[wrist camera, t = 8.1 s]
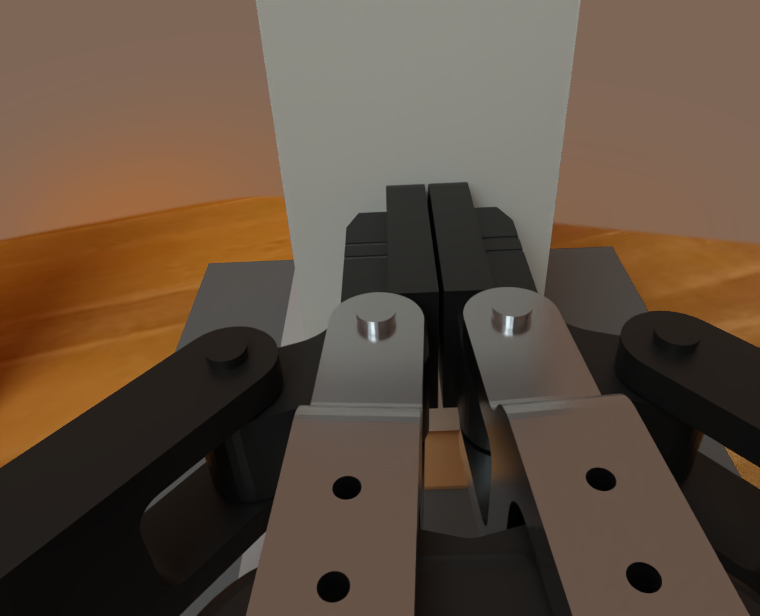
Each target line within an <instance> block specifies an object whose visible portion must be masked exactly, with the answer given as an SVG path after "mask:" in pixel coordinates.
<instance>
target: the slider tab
mask: <svg viewBox="0 0 760 616" xmlns="http://www.w3.org/2000/svg"><path fill="white" fill-rule="evenodd" d="M256 6H257V12H258V19H259V26H260V33H261V40H262V47H263V54H264V60H265V67H266V74H267V80H268V88H269V95H270V101H271V108H272V115H273V122H274V129H275V136H276V142H277V149H278V156H279V163H280V170H281V177H282V183H283V190H284V197H285V204H286V211H287V218H288V224H289V231H290V238H291V245H292V252H293V259H294V265H295V272H296V279H297V286H298V293H299V300H300V306H301V313H302V320H303V327H304V334H305V340H307V339H310V338H312V337H314V336H316V335H318V334H320V333H322V332H323V331H324V330H326V329H327V327H328V322H329V318H330V316H331V314H332V312H333V310H334V309H335V308H336V307H337V306H338V305H340V304H341V292H342V279H343V265H344V252H345V239H346V227H347V226H348V225H349V224H350V222H351V221H352V220H353V219H354V218H355V217H356V215H357V214H358V213H367V212H387V210H386V186H389V185H411V184H425V190H426V198H427V206H428V184H431V183H454V182H468V185H469V189H470V193H471V197H472V201H473V205H474V208H479V207H498V208H499V209H500V210H501V211H503V212H504V213H505V214H506V215H507V216H509V217H510V218H511V219H512V220H513V222H514V225H515V228H516V231H517V234H518V239H520V242H521V245H522V248H523V252H524V254H525V257H526V260H527V263H528V266H529V268H530V271H531V274H532V277H533V280H534V283H535V286H536V289H537V292H538V293H539V294H541V295H543V296H544V291H545V283H546V275H547V267H548V259H549V251H550V243H551V235H552V227H553V219H554V211H555V202H556V193H557V186H558V178H559V170H560V162H561V153H562V146H563V138H564V130H565V121H566V114H567V113H566V112H567V105H568V96H569V89H570V81H571V73H572V64H573V56H574V49H575V40H576V33H577V25H578V17H579V9H580V0H256ZM451 430H459V414H458V407H457V408H443V405H442V396H441V388H440V379H439V370H438V408H435V409H429V431H451Z"/></svg>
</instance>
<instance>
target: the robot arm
mask: <svg viewBox="0 0 760 616" xmlns="http://www.w3.org/2000/svg"><path fill="white" fill-rule="evenodd" d="M386 210H387V212H367V213H358V214H357V215H356V217H355V218H354V219H353V220H352V221H351V222H350V224H349V225H348V226H347V227H346V239H345V252H344V265H343V279H342V292H341V304H340V305H338V306H337V307H336V308H335V309H334V310H333V312H332V314H331V316H330V318H329V322H328V327H327V329H326V330H324V331H323V332H322V333H320V334H318V335H316V336H314V337H312V338H310V339H307V340H304V341H301V342H298V343H294V344H290V345H286V346H283V347H279V348H278V347H277V344H276V342H275V340H274V339H273V338H272V337H271V336H270V335H269V334H267V333H266V332H264V331H262V330H259V329H256V328H252V327H244V326H234V327H226V328H221V329H217V330H214V331H211V332H208V333H206V334H204V335H202V336H200V337H198V338H196V339H195V340H193V341H192V342H190V343H189V344H187V345H186V346H184V347H183V348H181V349H180V350H178V351H177V352H175V353H174V354H172V355H171V356H169V357H168V358H166V359H165V360H163V361H162V362H160V363H158V364H157V365H155V366H154V367H152V368H151V369H149V370H148V371H146V372H145V373H143V374H142V375H140V376H139V377H137V378H136V379H134V380H133V381H131V382H130V383H128V384H127V385H125V386H124V387H122V388H121V389H119V390H118V391H116V392H115V393H113V394H112V395H110V396H109V397H107V398H106V399H104V400H103V401H101V402H100V403H98V404H97V405H95V406H94V407H92V408H90V409H89V410H87V411H86V412H84V413H83V414H81V415H80V416H78V417H77V418H75V419H74V420H72V421H71V422H69V423H68V424H66V425H65V426H63V427H62V428H60V429H59V430H57V431H56V432H54V433H53V434H51V435H50V436H48V437H47V438H45V439H44V440H42V441H41V442H39V443H38V444H36V445H35V446H33V447H32V448H30V449H29V450H27V451H25V452H24V453H22V454H21V455H19V456H18V457H16V458H15V459H13V460H12V461H10V462H9V463H7V464H6V465H4V466H3V467H1V468H0V616H180V615H181V614H182V613H183V612H184V611H185V610H186V609H187V608H188V607H189V606H190V605H191V604H192V603H193V602H194V601H195V600H196V599H197V598H198V597H199V596H200V595H201V594H202V593H203V592H204V591H205V590H207V589H208V588H209V587H210V586H211V585H212V584H213V583H214V582H215V581H216V580H217V579H218V578H219V577H220V576H221V575H222V574H223V573H224V572H225V571H226V570H227V569H228V568H229V567H230V566H231V565H232V564H233V563H234V562H235V561H236V560H237V559H238V558H239V557H240V556H241V555H242V554H243V553H244V552H245V551H247V550H248V549H249V548H250V547H251V546H252V545H253V544H254V543H255V542H256V541H257V540H258V539H259V538H260V537H261V536H262V535H263V534H264V533H265V532H266V535H265V539H264V543H263V547H262V551H261V555H260V560H259V564H258V567H257V568H255V569H253V570H251V571H249V572H248V573H246V574H245V575H243V576H242V577H240V578H239V579H237V580H236V581H234V582H233V583H231V584H230V585H229V586H227V587H226V588H225V589H224V590H223V591H221V592H220V593H219V594H218V595H217V596H215V597H214V598H213V599H212V600H211V601H210V602H209V603H208V604H207V605H206V606H205V607H204V608H203V609H202V610H201V611H200V612H199V613H198V614H197V615H196V616H760V489H758V488H757V487H755V486H753V485H752V484H750V483H749V482H747V481H745V480H744V479H742V478H741V477H739V476H737V475H736V474H734V473H733V472H731V471H729V470H728V469H726V468H725V467H723V466H721V465H720V464H718V463H717V462H715V461H713V460H712V459H710V458H709V457H707V456H705V455H704V454H702V453H701V452H699V451H698V449H699V447H700V444H701V441H702V438H703V435H704V434H705V435H707V436H708V437H710V438H712V439H713V440H715V441H717V442H718V443H720V444H722V445H723V446H725V447H727V448H728V449H730V450H732V451H733V452H735V453H737V454H738V455H740V456H742V457H743V458H745V459H747V460H748V461H750V462H752V463H753V464H755V465H757V466H758V467H760V348H758V347H756V346H754V345H752V344H750V343H748V342H746V341H744V340H742V339H740V338H738V337H736V336H734V335H732V334H729V333H727V332H725V331H723V330H721V329H719V328H717V327H715V326H713V325H711V324H709V323H707V322H705V321H703V320H700V319H698V318H695V317H693V316H689V315H686V314H682V313H677V312H670V311H651V312H646V313H641V314H638V315H636V316H634V317H632V318H630V319H629V320H628V321H627V322H626V323H625V324H624V325H623V327H622V330H621V334H620V335H614V334H608V333H602V332H596V331H590V330H586V329H581V328H578V327H575V326H572V325H570V324H567V323H565V322H564V320H563V318H562V316H561V314H560V312H559V310H558V308H557V307H556V305H555V304H554V303H553V302H552V301H550V300H549V299H548V298H546V297H545V296H543V295H541V294H539V293H538V292H537V289H536V286H535V283H534V280H533V277H532V274H531V271H530V268H529V266H528V263H527V260H526V257H525V254H524V252H523V248H522V245H521V242H520V239H518V234H517V231H516V228H515V225H514V222H513V220H512V219H511V218H510V217H509V216H507V215H506V214H505V213H504V212H503V211H501V210H500V209H499V208H498V207H479V208H474V205H473V201H472V197H471V193H470V189H469V185H468V182H454V183H431V184H428V206H427V198H426V190H425V184H411V185H389V186H386ZM438 370H439V379H440V388H441V396H442V405H443V408H457V407H458V414H459V450H460V454H461V458H462V463H463V467H464V472H465V476H466V480H467V485H468V489H469V493H470V498H471V502H472V506H473V511H474V515H475V519H476V524H477V528H478V532H479V537H477V538H463V537H457V536H452V535H447V534H442V533H437V532H432V531H427V530H424V492H425V439H426V437H427V435H428V431H429V409H435V408H438ZM204 457H205V460H206V462H205V463H204V464H203V465H202V466H200V467H199V468H198V469H197V470H196V471H194V472H193V473H192V474H191V475H189V476H188V477H187V478H186V479H185V480H183V481H182V482H181V483H180V484H178V485H177V486H176V487H175V488H174V489H172V490H171V491H170V492H169V493H167V494H166V495H165V496H164V497H163V498H161V499H160V500H159V501H158V502H156V503H155V504H154V505H153V506H152V507H150V508H149V509H148V510H147V511H145V510H146V508H147V507H148V505H149V504H150V503H151V502H152V500H153V499H154V498H155V497H156V496H158V495H159V494H160V493H161V492H162V491H164V490H165V489H166V488H167V487H168V486H170V485H171V484H172V483H173V482H175V481H176V480H177V479H178V478H180V477H181V476H182V475H183V474H185V473H186V472H187V471H188V470H189V469H191V468H192V467H193V466H194V465H196V464H197V463H198V462H199V461H201V460H202V459H203V458H204Z"/></svg>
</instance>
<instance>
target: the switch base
mask: <svg viewBox="0 0 760 616" xmlns="http://www.w3.org/2000/svg"><path fill="white" fill-rule="evenodd" d="M544 296H545V297H546V298H548V299H549V300H550V301H552V302H553V303H554V304H555V305H556V307H557V308H558V310H559V312H560V314H561V316H562V318H563V320H564V322H565V323H567V324H570V325H572V326H575V327H578V328H581V329H586V330H590V331H596V332H602V333H608V334H614V335H620V334H621V330H622V327H623V325H624V324H625V323H626V322H627V321H628V320H629V319H630V318H632V317H634V316H636V315H638V314H641V313H646V312H648V310H647V308H646V306H645V304H644V303H643V301H642V299H641V297H640V295H639V294H638V292H637V290H636V288H635V287H634V285H633V283H632V281H631V279H630V278H629V276H628V274H627V272H626V270H625V269H624V267H623V265H622V263H621V261H620V260H619V258H618V256H617V254H616V253H615V251H614V249H613V247H588V248H564V249H550V251H549V259H548V267H547V275H546V283H545V291H544ZM234 326H244V327H252V328H256V329H259V330H262V331H264V332H266V333H267V334H269V335H270V336H271V337H272V338H273V339H274V340H275V342H276V344H277V347H278V348H279V347H283V346H286V345H290V344H294V343H298V342H301V341H304V340H305V334H304V327H303V320H302V313H301V306H300V300H299V293H298V286H297V279H296V272H295V265H294V260H280V261H256V262H232V263H209V264H208V267H207V270H206V272H205V275H204V278H203V280H202V283H201V285H200V288H199V291H198V293H197V296H196V299H195V301H194V304H193V307H192V309H191V312H190V314H189V317H188V320H187V322H186V325H185V328H184V330H183V333H182V335H181V338H180V341H179V343H178V346H177V349H176V351H175V352H177V351H178V350H180V349H181V348H183V347H184V346H186V345H187V344H189V343H190V342H192V341H193V340H195V339H196V338H198V337H200V336H202V335H204V334H206V333H208V332H211V331H214V330H217V329H221V328H226V327H234ZM698 451H699V452H701V453H702V454H704V455H705V456H707V457H709V458H710V459H712V460H713V461H715V462H717V463H718V464H720V465H721V466H723V467H725V468H726V469H728V470H729V471H731V472H733V473H734V474H736V475H737V476H739V477H741V476H740V474H739V473H738V471H737V469H736V467H735V465H734V464H733V462H732V460H731V458H730V456H729V455H728V453H727V451H726V449H725V448H724V446H723V445H722V444H720V443H718V442H717V441H715V440H713V439H712V438H710V437H708V436H707V435H705V434H704V435H703V438H702V441H701V444H700V447H699V449H698ZM205 462H206V460H205V457H204V458H203V459H202V460H201V461H199V462H198V463H197V464H196V465H194V466H193V467H192V468H191V469H189V470H188V471H187V472H186V473H185V474H183V475H182V476H181V477H180V478H178V479H177V480H176V481H175V482H173V483H172V484H171V485H170V486H168V487H167V488H166V489H165V490H164V491H162V492H161V493H160V494H159V495H158V496H156V497H155V498H154V499H153V500H152V502H151V503H150V504H149V505H148V507H147V508H146V510H145V511H147V510H148V509H149V508H150V507H152V506H153V505H154V504H155V503H156V502H158V501H159V500H160V499H161V498H163V497H164V496H165V495H166V494H167V493H169V492H170V491H171V490H172V489H174V488H175V487H176V486H177V485H178V484H180V483H181V482H182V481H183V480H185V479H186V478H187V477H188V476H189V475H191V474H192V473H193V472H194V471H196V470H197V469H198V468H199V467H200V466H202V465H203V464H204V463H205ZM424 530H427V531H432V532H437V533H442V534H447V535H452V536H457V537H463V538H477V537H479V532H478V528H477V524H476V519H475V515H474V511H473V506H472V502H471V498H470V493H469V489H468V485H467V480H466V476H465V472H464V467H463V463H462V458H461V454H460V450H459V430H451V431H428V435H427V437H426V439H425V492H424ZM265 535H266V532H265V533H264V534H263V535H262V536H261V537H260V538H259V539H258V540H257V541H256V542H255V543H254V544H253V545H252V546H251V547H250V548H249V549H248V550H247V551H245V552H244V553H243V554H242V555H241V556H240V557H239V558H238V559H237V560H236V561H235V562H234V563H233V564H232V565H231V566H230V567H229V568H228V569H227V570H226V571H225V572H224V573H223V574H222V575H221V576H220V577H219V578H218V579H217V580H216V581H215V582H214V583H213V584H212V585H211V586H210V587H209V588H208V589H207V590H205V591H204V592H203V593H202V594H201V595H200V596H199V597H198V598H197V599H196V600H195V601H194V602H193V603H192V604H191V605H190V606H189V607H188V608H187V609H186V610H185V611H184V612H183V613H182V614H181V615H180V616H196V615H197V614H198V613H199V612H200V611H201V610H202V609H203V608H204V607H205V606H206V605H207V604H208V603H209V602H210V601H211V600H212V599H213V598H214V597H215V596H217V595H218V594H219V593H220V592H221V591H223V590H224V589H225V588H226V587H227V586H229V585H230V584H231V583H233V582H234V581H236V580H237V579H239V578H240V577H242V576H243V575H245V574H246V573H248V572H249V571H251V570H253V569H255V568H257V567H258V564H259V560H260V555H261V551H262V547H263V543H264V539H265Z"/></svg>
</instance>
